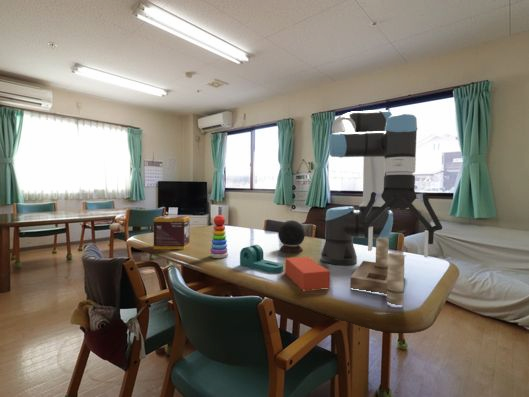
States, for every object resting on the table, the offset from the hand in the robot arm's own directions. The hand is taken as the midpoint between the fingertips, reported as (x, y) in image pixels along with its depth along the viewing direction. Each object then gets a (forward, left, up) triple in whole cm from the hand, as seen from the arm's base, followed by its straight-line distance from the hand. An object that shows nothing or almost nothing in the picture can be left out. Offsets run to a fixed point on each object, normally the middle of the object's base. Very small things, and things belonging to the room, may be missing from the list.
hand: (396, 253), depth 75 cm
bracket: (-48, +11, -15) cm, 52 cm away
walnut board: (-6, +16, -15) cm, 23 cm away
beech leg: (0, 0, -15) cm, 15 cm away
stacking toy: (-73, +15, -15) cm, 76 cm away
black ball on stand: (-50, +43, -15) cm, 68 cm away
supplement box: (-105, +17, -15) cm, 108 cm away
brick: (-28, +6, -15) cm, 33 cm away
